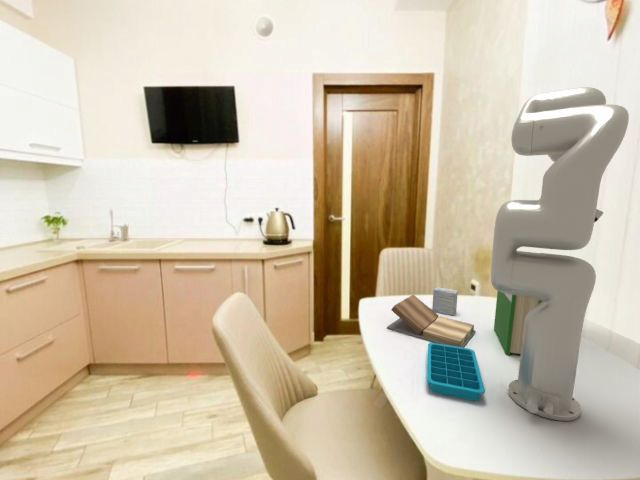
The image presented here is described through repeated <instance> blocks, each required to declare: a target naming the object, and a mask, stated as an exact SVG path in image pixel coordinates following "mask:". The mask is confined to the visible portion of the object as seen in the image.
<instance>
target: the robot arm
mask: <svg viewBox="0 0 640 480" xmlns="http://www.w3.org/2000/svg"><path fill="white" fill-rule="evenodd" d="M629 115H630V114H629V112H628V110H627V109H626V108H625V107H624V106H622V105H619V104H607V99H606V96H605V94H604V93H603V92H602V91H601V90H600V89H598V88H595V87H588V86H587V87H586V86H585V87H574V88H567V89H562V90H555V91H548V92H541V93H537V94H535V95H533V96H531V97H530V98H528V99H527V100H526V102H525V103H524V104H523V105H522V107H521V109H520V112H519V113H518V116H517V118H516V120H515V122H514V125H513V128H512V131H511V147H512V150H513V151H514V152H515V154H518V156H519V155H520V156H527V157H529V156H530V157H532V156H545V155H546V156H547V155H548V158H549V159H550V160H551V161H552V162H553V163H552V164H551V165H550V166H549V167H548V169H546V171H545V173H543V177H542V184H541V185H542V186H541V193H540V194H541V195H540V197H539V199H536V200H533V199H530V200H529V199H514V200H510V201H509V200H508V201H506V202H504V203H503V204H501V206H500V207H499V208H498V211H497V213H496V217H495V221H494V227H493V228H494V229H493V243H492V254H491V266H490V283H491V286H492V287H493V288H494V289H495V290H496V291H497V292H498V291H499V292H502V293H507V294H512V295H518V296H523V297H529V298H535V299H538V300H541V301H542V302H541V303H540V304H538V305H537V306H535V307H534V308H533V309H531V310H530V311H529V312H528V314H527V315H526V318H525V321H524V330H523V339H522V347H521V354H520V356H519V357H520V358H519V366H518V367H519V368H518V375H517V379H515V380H512V381H511V382H509V384H508V389H507V390H508V395H509V396H510V398H511V399H512V400H513V401H514V402H515V403H516V404H518V405H519V406H520V407H521V408H523V409H525V410H527V411H528V412H529V413H530V414H535V415H537V416H540V417H543V418H546V419H550V420H552V421H553V420H556V421H560V422H561V421H562V422H564V421H565V422H567V421H574V420H577V419H578V418H579V417H580V416H581V412H582V407H581V405H580V403H579V401H578V400H577V399H576V398H575V397H574V396H573V395H574V389H575V384H576V376H577V369H578V361H579V354H580V347H581V340H582V334H583V327H584V322H585V317H586V313H587V309H588V306H589V302H590V300H591V297H592V295H593V292H594V288H595V284H596V278H597V274H596V270H595V268H594V266H593V265H592V264H591V263H589V262H588V261H586V260H584V259H582V258H579V257H575V256H571V255H563V254H555V253H554V254H553V253H545V252H531V251H523V250H522V251H521V250H519V248H524V247H526V248H535V249H536V248H537V249H545V250H546V249H548V250H558V251H576V250H582V249H583V248H585V247H587V245H588V244H589V243H590V240H591V239H592V236H593V235H592V234H593V230H594V225H595V223H596V222H598V220H599V219H600V218H601V217H602V216H603V215H604V212H603V211H602V210H599V209H597V207H598V201H599V196H600V195H599V194H600V187H601V182H602V177H604V176H603V175H604V173H605V172H606V170H607V167H608V166H609V164H610V162H611V161H612V159H613V158H614V156H615V154H616V152H617V151H618V149H619V148H620V146H621V144H622V143H623V140H624V138H625V135H626V133H627V131H628V130H627V129H628V125H629V119H630V118H629V117H630V116H629Z"/></svg>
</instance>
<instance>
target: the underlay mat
mask: <svg viewBox="0 0 640 480" xmlns="http://www.w3.org/2000/svg"><path fill="white" fill-rule="evenodd" d="M386 329H387V330H390V331H394V332H396V333H401V334H403V335H406V336H411V337H413V338H416V339H420V340H422V341H427V342H429V343H437V344H443V345H448V344H445V343H441V342H438V341H435V340H431V339H428V338H425V337H423V332H421V333H420V334H417V333H416V332H415V331H414V330H413V329H412V328H411V327H410V326H408V325H407V324H406V323H405V322H404V321H403V320H402V319H401V318H400V317H398V318H397V319H396V320H395V321H393V322H392V323H390V324H388V325H387V326H386ZM475 334H476V330H475V329H474V331H473V332H472V333H471V335H470V336H469V337H468V339H467V340H466V341H465V342H464V344H463V345H462V346H461V347H462V348H466V346H467V344H468V343H469V342H470V341H471V340H472V338H473V336H474V335H475ZM450 346H451V345H450Z"/></svg>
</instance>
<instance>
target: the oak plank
mask: <svg viewBox="0 0 640 480" xmlns="http://www.w3.org/2000/svg"><path fill="white" fill-rule="evenodd" d="M474 328H475V324H472V323H467V322H463V321H459V320H457V319H456V320H455V319H452V318H448V317H444V316H439V317H438V318H437V319H436V320H435V321H434V322H433V323H432V324H431V325H429V326H428V327H427V328H426V329H425V330H424V331H423V337H425V338H428V339H431V340H435V341H438V342H441V343H445V344H448V345H451V346H456V347H461V346H462V345H463V344H464V342H465V341H466V340H467V339H468V337H469V336H470V335H471V333H472V332H473V331H474V330H475V329H474Z"/></svg>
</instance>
